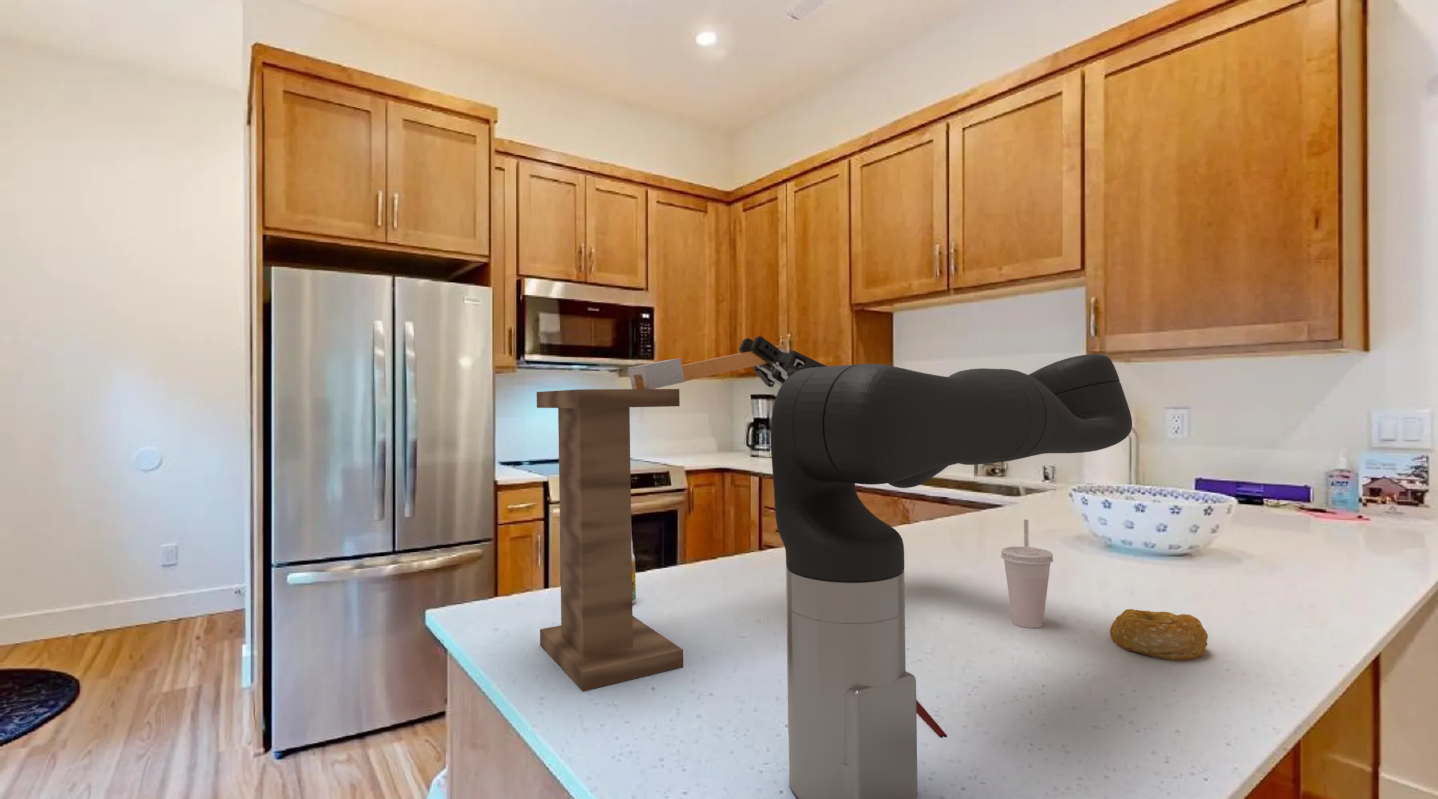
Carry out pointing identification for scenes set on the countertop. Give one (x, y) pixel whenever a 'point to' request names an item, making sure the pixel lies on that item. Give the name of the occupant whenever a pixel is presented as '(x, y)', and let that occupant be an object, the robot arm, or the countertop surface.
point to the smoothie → (1027, 581)
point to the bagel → (1160, 634)
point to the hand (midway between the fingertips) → (749, 343)
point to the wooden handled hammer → (689, 369)
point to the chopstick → (929, 720)
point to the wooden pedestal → (600, 541)
